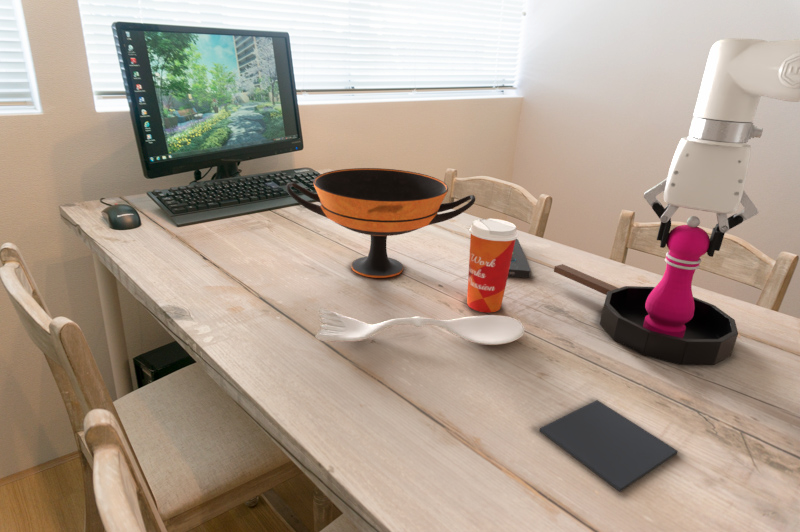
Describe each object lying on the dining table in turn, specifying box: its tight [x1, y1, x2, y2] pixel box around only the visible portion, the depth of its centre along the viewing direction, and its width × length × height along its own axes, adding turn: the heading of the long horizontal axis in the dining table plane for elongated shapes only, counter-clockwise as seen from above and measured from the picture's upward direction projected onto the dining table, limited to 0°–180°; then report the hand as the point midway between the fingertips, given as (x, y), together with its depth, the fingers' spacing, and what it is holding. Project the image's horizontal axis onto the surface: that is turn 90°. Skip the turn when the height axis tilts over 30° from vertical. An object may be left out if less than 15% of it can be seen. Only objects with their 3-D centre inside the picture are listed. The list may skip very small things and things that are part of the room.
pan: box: [553, 263, 739, 366], centre depth 92 cm, size 33×20×4 cm, turn 34°
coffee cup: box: [466, 217, 519, 314], centre depth 91 cm, size 8×8×15 cm
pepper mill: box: [643, 215, 710, 338], centre depth 84 cm, size 7×7×20 cm
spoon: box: [314, 307, 525, 346], centre depth 81 cm, size 9×32×4 cm, turn 96°
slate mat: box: [539, 399, 679, 492], centre depth 62 cm, size 11×11×1 cm
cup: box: [286, 167, 476, 279], centre depth 104 cm, size 36×26×18 cm
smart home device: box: [508, 238, 531, 279], centre depth 116 cm, size 8×2×20 cm
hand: (685, 248), depth 83 cm, fingers closed on pepper mill, 6 cm apart
